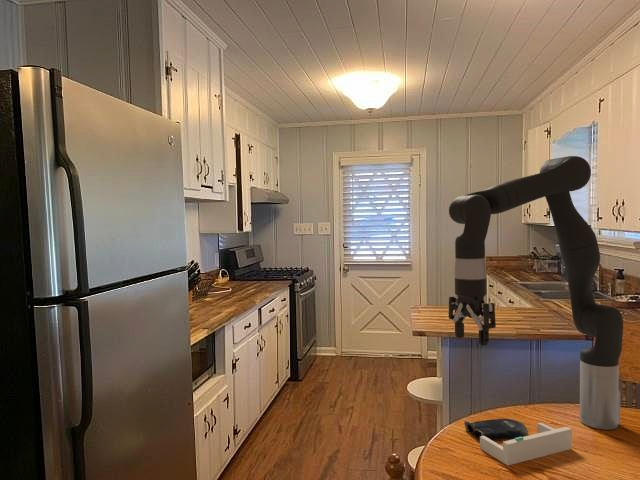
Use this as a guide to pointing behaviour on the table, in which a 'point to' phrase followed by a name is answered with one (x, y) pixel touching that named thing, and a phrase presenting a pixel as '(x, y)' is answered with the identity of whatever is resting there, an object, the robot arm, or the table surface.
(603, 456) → the table surface
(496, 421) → the electronic device
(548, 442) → the charging dock
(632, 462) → the table surface
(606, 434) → the table surface
